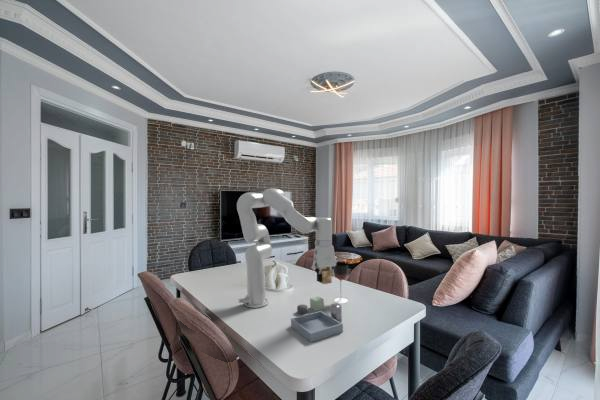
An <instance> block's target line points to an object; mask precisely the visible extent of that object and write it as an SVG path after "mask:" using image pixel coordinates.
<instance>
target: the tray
mask: <svg viewBox="0 0 600 400" xmlns="http://www.w3.org/2000/svg"><path fill="white" fill-rule="evenodd" d="M343 325H344V324H343V323H342V322H341V323H340V322H339V321H337V320H335V319H334V318H332V317H331V315H328V314H327V313H325V312H324V311H322V310H317V311H315V312H311V313H307V314H303V315H300V316H297V317H293V318H290V327H291V328H292V329H294V330H295V331H296V332H298V334H300V335H301V336H302V337H304V339H306V340H308V341H309V342H310V343H313V342H316V341H319V340H323V339H325V338H328V337H333V336H334V335H337V334H340V333H343V332H344V326H343Z"/></svg>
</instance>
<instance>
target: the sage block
mask: <svg viewBox="0 0 600 400" xmlns="http://www.w3.org/2000/svg"><path fill="white" fill-rule="evenodd" d="M324 304H325V301H324V298H322V297H321V296H318V295H317V296H313V297H309V305H310V306H309V308H310V309H312V310H313V311H315V312H318V311H322V310H324V309H325V306H324Z"/></svg>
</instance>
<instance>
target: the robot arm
mask: <svg viewBox="0 0 600 400" xmlns="http://www.w3.org/2000/svg"><path fill="white" fill-rule="evenodd" d="M266 207H271V208H273V210H275V211H276V212H278V213H279V214H280V215H281V216H282V217H283V218H284V220H285V221H286V222H287V223H288V224H289V225H290V226H291V227H292V228H293V229H295V230H297V231H298V232H299V233H302V234H309V233H313V232H316V233H315V234H316V240H315V241H314V245H315V247H314V253H313V263H312V265H311V266H310V268H311V269H312V270H313V271H314V272H316V282H318V281H319V282H318V283H320V282H322V274H321V271H322V268H327V269H330V270H332V271H333V268H334V267H335V266H336V263H337V262H336V254H335V253H336V252H335V247H334V245H333V220H332V218H331V217H317V216H306V217H305V216H304V215H302V213H300V212H299V211H297V209H296V208H295V207H294V202H293V201H292V200H291V199H289V198H288V197H286V196H285V193H284V191H283V190H281V189H279V188H274V187H273V188H272V187H271V188H267V189H264V191H263V192H254V191H250V192H249V191H248V192H245V193H243V194H241V195H240V197H239V198H238V200H237V202H236V210H237V213H238V216H239V221H240V226H241V231H242V234H243V238H244V241H245V242H247V243H248V244H250V243H251V244H252V243H255V244H252V245H251V246H249V247H248V248H246V250H245V253H244V258H245V264H246V279H247V280H246V281H247V282H246V285H247V286H246V288H247V294H246V295H245V296H244V297H243V298H239V299H238V301H237V302H238V303H239V304H241V303H242V304H244V306H245V307H247V308H252V309H258V308H262V307H265V306H267V305H268V304H269V300H268V299H267V298H266V269H265V265H264V261H265V260H268V259H270V257H271V256H272V255H273V254H272V253H273V248H272V242H271V238H270V233H269V230H268V228H267V227H266V226H265V225H264V224H261V223H258V222H257V217H256V214H255V213H254V210H253V209H258V208H259V209H260V208H266Z"/></svg>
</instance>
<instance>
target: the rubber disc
mask: <svg viewBox="0 0 600 400" xmlns="http://www.w3.org/2000/svg"><path fill="white" fill-rule="evenodd" d="M296 308H297V314H298V315H301V314H302V315H301V316H303V315H307V314H309V313H308V305H307V304H298V305H297V307H296Z"/></svg>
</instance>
